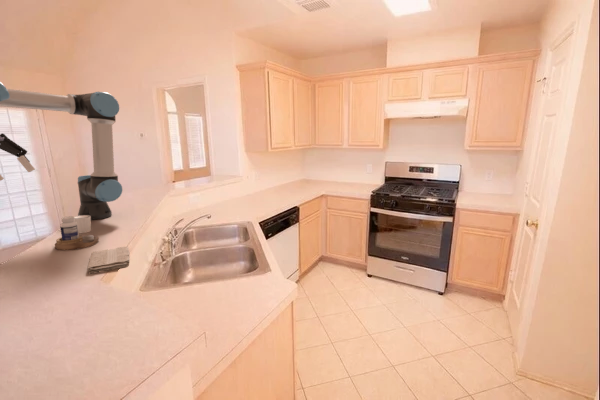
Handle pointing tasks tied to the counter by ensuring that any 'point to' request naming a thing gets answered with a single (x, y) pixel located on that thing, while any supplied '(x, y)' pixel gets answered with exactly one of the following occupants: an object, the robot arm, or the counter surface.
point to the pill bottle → (69, 229)
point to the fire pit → (76, 243)
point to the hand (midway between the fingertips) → (17, 175)
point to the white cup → (83, 223)
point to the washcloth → (109, 259)
